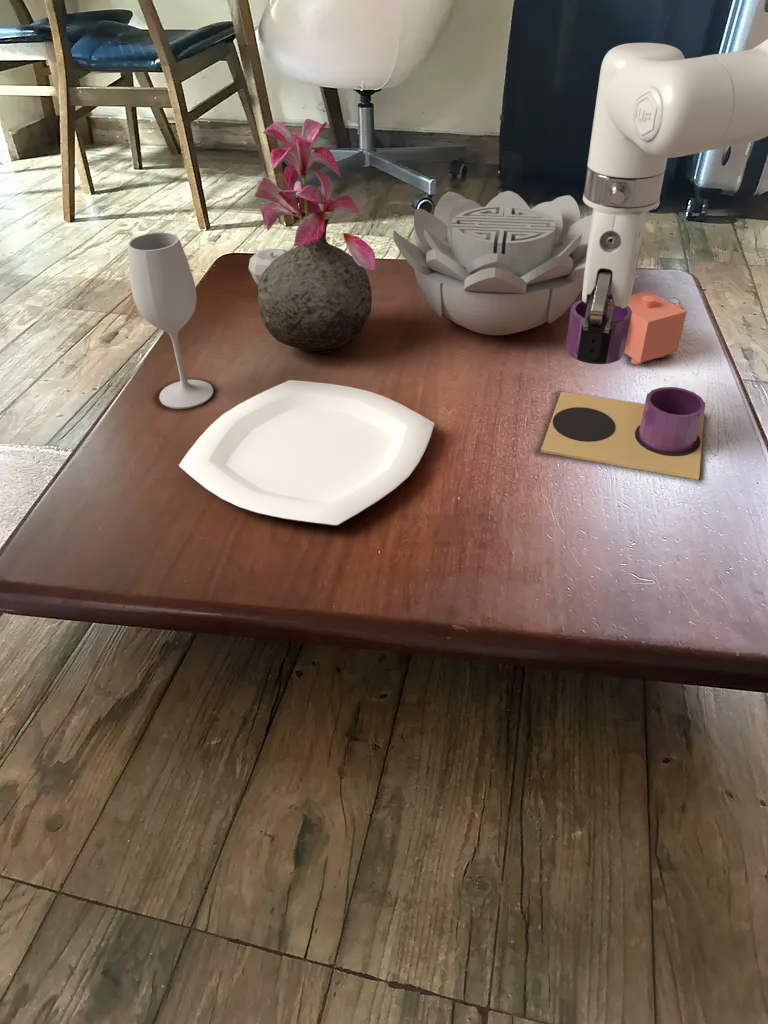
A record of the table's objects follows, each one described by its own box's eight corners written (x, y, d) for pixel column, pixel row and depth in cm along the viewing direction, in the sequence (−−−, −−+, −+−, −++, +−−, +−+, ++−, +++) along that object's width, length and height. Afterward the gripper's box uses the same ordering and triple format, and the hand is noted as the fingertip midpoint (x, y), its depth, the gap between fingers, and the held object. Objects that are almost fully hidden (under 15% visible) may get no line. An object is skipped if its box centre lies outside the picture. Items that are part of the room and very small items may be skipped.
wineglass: (221, 381, 108) (193, 230, 95) (206, 410, 103) (174, 254, 89) (168, 379, 109) (133, 229, 96) (150, 408, 103) (111, 253, 90)
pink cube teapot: (693, 352, 111) (707, 298, 106) (626, 373, 107) (637, 317, 102) (655, 330, 116) (667, 277, 111) (590, 349, 113) (599, 295, 107)
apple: (241, 292, 131) (236, 254, 127) (275, 276, 135) (271, 239, 131) (275, 304, 127) (270, 265, 123) (309, 288, 131) (305, 250, 127)
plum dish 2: (696, 426, 96) (706, 391, 93) (694, 457, 91) (704, 421, 88) (641, 418, 98) (648, 383, 94) (635, 447, 93) (643, 411, 90)
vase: (276, 316, 123) (250, 108, 104) (386, 318, 122) (380, 107, 103) (252, 369, 111) (218, 143, 91) (375, 373, 109) (366, 143, 90)
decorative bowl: (381, 363, 111) (378, 260, 101) (413, 278, 134) (412, 187, 124) (599, 377, 106) (618, 271, 97) (594, 286, 129) (608, 193, 119)
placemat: (703, 415, 99) (704, 412, 98) (698, 480, 89) (699, 476, 88) (560, 393, 104) (561, 390, 103) (540, 452, 93) (541, 449, 93)
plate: (461, 430, 97) (462, 417, 96) (344, 560, 80) (343, 546, 79) (287, 379, 108) (285, 366, 107) (150, 483, 91) (146, 469, 89)
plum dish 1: (627, 341, 92) (634, 301, 89) (620, 368, 87) (628, 327, 84) (570, 333, 94) (576, 294, 91) (561, 359, 89) (567, 319, 86)
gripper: (653, 219, 72) (620, 388, 83) (667, 164, 84) (636, 317, 95) (571, 212, 74) (549, 377, 85) (596, 159, 86) (575, 310, 98)
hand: (596, 344), depth 90 cm, fingers closed on plum dish 1, 6 cm apart
